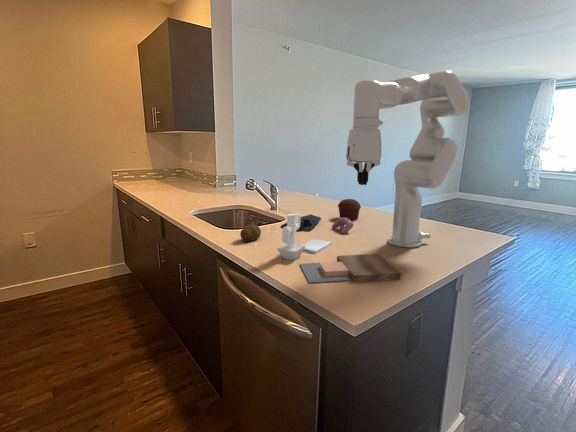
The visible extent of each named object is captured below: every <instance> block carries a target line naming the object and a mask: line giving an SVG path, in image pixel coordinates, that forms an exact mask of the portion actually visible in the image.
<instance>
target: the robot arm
mask: <svg viewBox="0 0 576 432" xmlns="http://www.w3.org/2000/svg"><path fill="white" fill-rule="evenodd" d="M420 101H421V102H420ZM416 102H420V106H419V112H420V118H421V119H420V121H421V129H420V131H419V133H418V134H417V136H416V138H415V140H414V142H413V143H412V146H411V148H410V151H409V159H408V160H407V159H406V160H402V161H400V162H398V163H397V164H396V165H395V167H394V170H393V178H394V179H393V180H394V186H395V187H394V188H395V189H394V190H395V191H394V192H395V193H394V194H395V195H394V207H393V219H392V220H393V221H392V231H391V232H392V233H391V234H392V235H391V236H389V237H387V242H388V243H389V244H390V245H393V246H396V247H400V248H419V247H420V246H422V245H423V241H422V240H423V239H430V238H431V233H429V232H428V233H427V232H426V233H424V232H422V231H420V222H421V221H420V220H421V213H422V212H421V211H422V205H423V204H422V203H423V202H422V201H423V200H422V199H423V198H422V195H421V191H420V190H419V188H422V189H430V190H433V189H438V188H440V187H441V186H442V184H443V183H444V182H445V179H446V178H447V175H448V173H449V172H450V169H451V168H452V166H453V164H454V162H455V159H456V156H457V152H458V149H457V143H456V142H455V140H454V139H453V138H450V137H444V135H445V129H444V127H443V125H442V123H441V122H440V121H439V118H446V117H459V116H462V115H464V114H465V113H466V112H467V111H468V109H469V105H470V100H469V95H468V92H467V90H466V89H465V87H464V85H463V83H462V81H461V80H460V79H459V77H458V76H457V74H456V73H454V71H452V70H448V69H446V70H441V71H436V72H429V73H422V74H417V75H411V76H406V77H402V78H398V79H394V80H390V81H385V82H384V81H383V82H379V81H377V80H373V79H369V80H368V79H366V80H361V81H357V82H356V84H355V86H354V100H353V116H352V117H353V121H352V122H353V123H352V128H351V129H349V133H348V138H347V145H346V153H345V157H346V165H347V166H348V167H353V168H354V169H355V170H356V172H357V182H358V185H361V186H367V184H368V182H369V173H370V172H371V170H372V169H373V168H374V167H378V166H381V159H382V148H383V147H382V135H381V134H382V133H381V130H380V129H381V128H379V127H380V126H383V120H380V117H379V116H380V110H385V109H392V108H395V107H397V106H402V105H409V104H412V103H416ZM363 163H364V165H363Z"/></svg>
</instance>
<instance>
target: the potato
mask: <svg viewBox="0 0 576 432" xmlns="http://www.w3.org/2000/svg"><path fill="white" fill-rule="evenodd" d="M261 234H262V229H261V227H259V226H258V225H257V224H253V223H251V224H248V225H246V226H245V227H244V228H242V229H241V231H240V238H241V240H242V241H244V242H251V241H255V240H258V239H259V238H260V236H261Z"/></svg>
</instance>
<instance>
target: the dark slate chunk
mask: <svg viewBox="0 0 576 432" xmlns="http://www.w3.org/2000/svg"><path fill="white" fill-rule="evenodd" d="M321 219H322V218H321V217H320V216H317V215H313V214H306V215H304V216H300V228H299V229H298V230H296V232H311V231H312V230H313V229H314V228H315V227H316V226H317V225H318V224H319V222H321ZM285 226H287V222H285V223H283V224H282V225H280V228H281V229H282V230H283V228H284V227H285Z"/></svg>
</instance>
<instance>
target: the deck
mask: <svg viewBox="0 0 576 432" xmlns="http://www.w3.org/2000/svg"><path fill="white" fill-rule="evenodd" d="M336 262H342V263H343V264H344V265H345V266H346V267H347V269H348V270H349V275H348V277H349V278H350V279H351V281H352V282H353V283H362V282H363V283H364V282H365V283H366V282H376V281H377V282H378V281H379V282H380V281H391V280H392V281H394V280H401V279H402V271H400V270H398V269H397V268H396V267H395V266H393V265H392V264H391V263H390V262H389V261H387V260H386V259H385V258H384V257H383V256H381V255H380V254H378V253H369V254H368V253H367V254H365V253H364V254H349V255H348V254H345V255H336Z"/></svg>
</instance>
